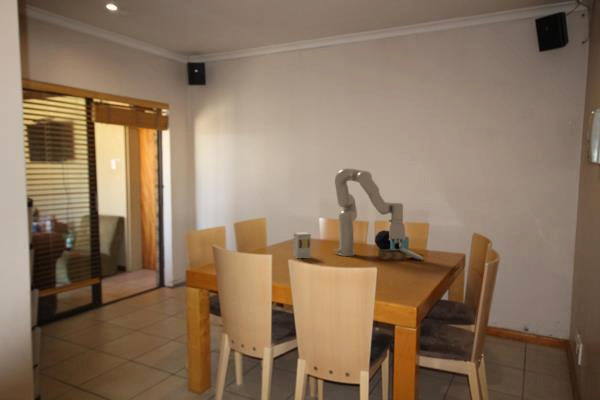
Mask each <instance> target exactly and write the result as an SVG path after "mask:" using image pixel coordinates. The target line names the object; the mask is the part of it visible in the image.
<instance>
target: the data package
mask: <svg viewBox="0 0 600 400" xmlns="http://www.w3.org/2000/svg"><path fill="white" fill-rule="evenodd" d="M409 239H410V238H409V237H408V236H407V235H405V240H404V241H401V242H400V243H401V244H402V245H404V247H403V248H404V249H407V250H409V249H410V248H409V244H410V243H409V241H410V240H409ZM397 241H398V239H396V242H397ZM400 243H399V244H400ZM389 250H399V249H395V248H394V242H393V241H390V249H389ZM409 251H410V250H409Z"/></svg>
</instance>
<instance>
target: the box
mask: <svg viewBox="0 0 600 400" xmlns="http://www.w3.org/2000/svg"><path fill="white" fill-rule="evenodd" d="M377 255H378V258H379V259H380V261H406V260H407V255H406V253H403V252H402V251H400V250H390V249H388V250H381V249H378V254H377Z"/></svg>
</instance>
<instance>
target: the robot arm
mask: <svg viewBox="0 0 600 400" xmlns="http://www.w3.org/2000/svg"><path fill="white" fill-rule="evenodd" d="M372 176H373V175H372V173H371V172H370V171H367V170H360V169H355V168H342V169H341V170H339V171H337V173H336V175H335V177H334V186H335V191H336V199H337V204H338V206H339V207H340V208H343V209H342V211H341V212H340V213H339V215H338V224H339V247H338V248H333V249H332V252H335V253H337V255H338V256H340V257H341V256H343V257H352V256H353V257H354V256H356V252H355V251H354V225H353V224H354V223H353V222H354V221H355V220H356V219H357V217H358V212H357V206H356V199H355V197H354V196H353V195H352V194H351V193H350V192H349V186H348V182H349V181H351V182H356V183H359V185H360V186H361V187H362V188H363V190H364V192H365V193H366V195H367V196H368V198H369V201H370V203H371V204H372V205H373V207H374V208H375V209H376V211H377V212H378V214H380V215H388V214H390V215H391V216H390V217H391V218H390V219H389V220H388V222H389V228H388V229H389V230H388V231H389V240H390V241H393V242H394V248H395V249H399V243H400V242H401V241H404V240H405V236H406V227H405V223H404V204H403V203H402V202H401V203H400V202H393V203H392V202H388V201H385V200H384V199H383V198H382V196H381V193H380V188H379V187H378V185H377V184H376V182H375V181H374V180H373V177H372ZM396 239H398V241H397V242H396Z"/></svg>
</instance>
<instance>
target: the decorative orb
mask: <svg viewBox="0 0 600 400" xmlns="http://www.w3.org/2000/svg"><path fill="white" fill-rule="evenodd" d="M374 243H375V245H376V246H377V248H379V250H390V240H389V230H385V229H384V230H380V231H379V232H378V233H376V235H375V237H374Z"/></svg>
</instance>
